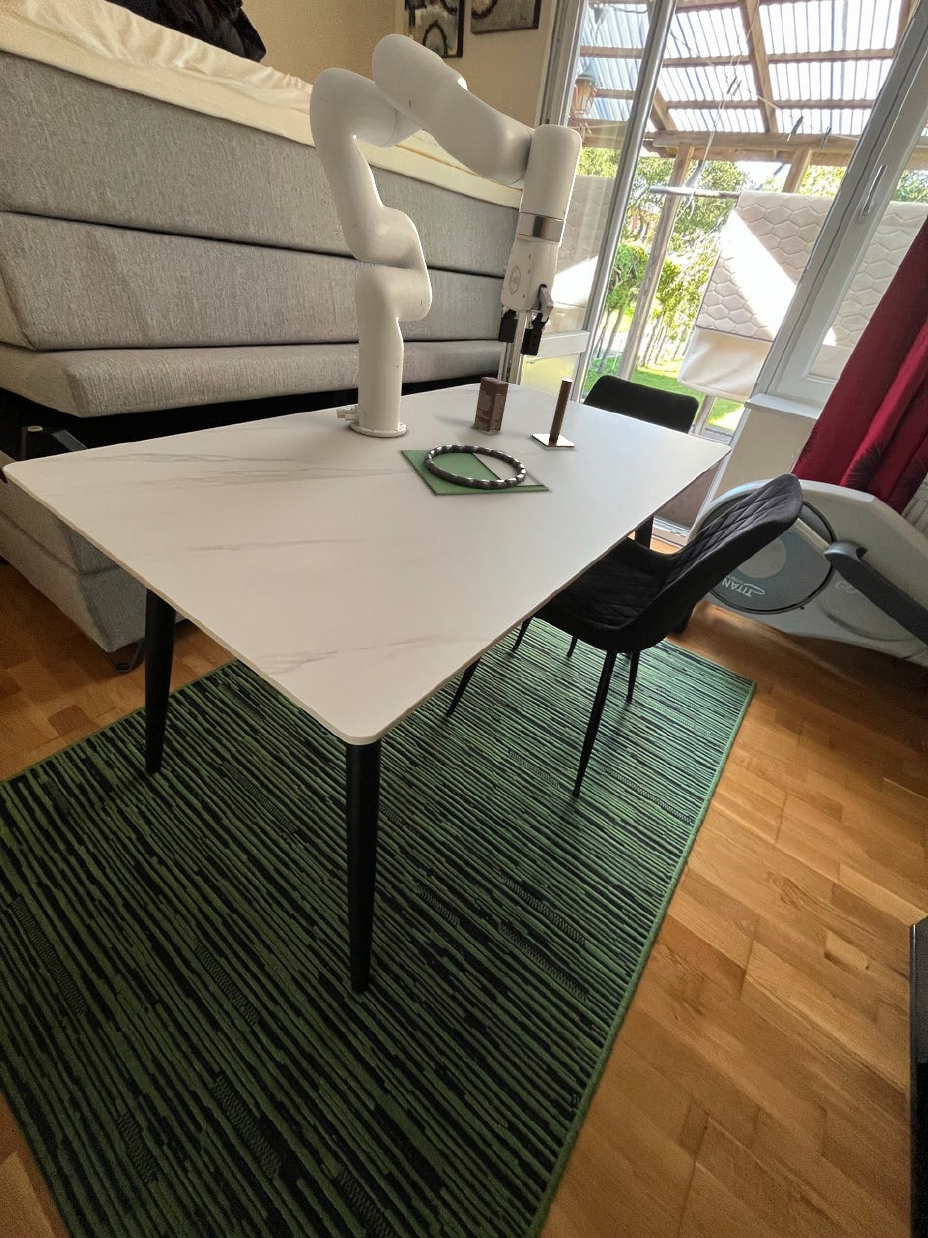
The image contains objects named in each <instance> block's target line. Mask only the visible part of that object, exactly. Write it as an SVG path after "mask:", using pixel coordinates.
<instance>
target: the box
mask: <svg viewBox="0 0 928 1238" xmlns="http://www.w3.org/2000/svg"><path fill="white" fill-rule="evenodd" d="M509 385H510V384H509V383H508V382H505V381H503V380H500V379H497V378H495V377H481V378H480V384H479V390H478V397H477V403H476V410H475V416H474V423H473V425H474V426H475V427H476V428H479V429H480V430H483V431H485V432H487V433H493V432H501V429H502V423H503V418H504V413H505V408H506V401H507V397H508V396H507V395H508V390H509Z"/></svg>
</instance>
